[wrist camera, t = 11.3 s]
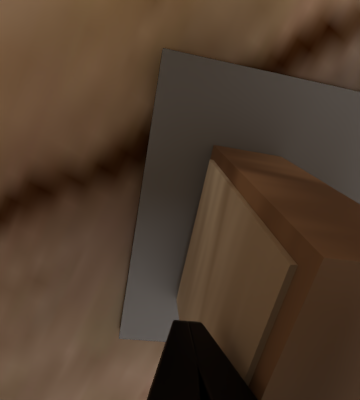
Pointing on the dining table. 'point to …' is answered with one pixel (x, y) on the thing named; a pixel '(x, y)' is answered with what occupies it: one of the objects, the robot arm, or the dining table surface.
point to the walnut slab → (277, 276)
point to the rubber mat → (201, 153)
